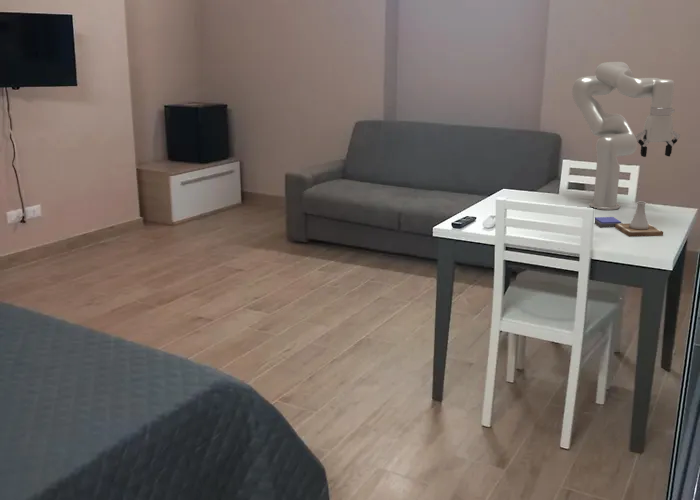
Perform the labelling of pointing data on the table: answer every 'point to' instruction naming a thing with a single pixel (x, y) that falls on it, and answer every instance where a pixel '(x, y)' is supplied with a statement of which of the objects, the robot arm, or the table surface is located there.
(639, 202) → the flask
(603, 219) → the ink pad
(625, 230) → the marked board
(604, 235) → the table surface
